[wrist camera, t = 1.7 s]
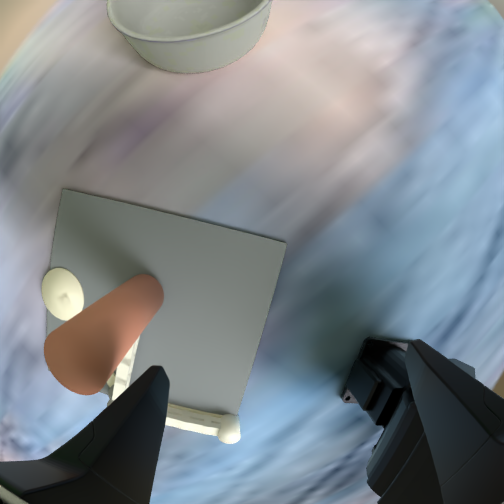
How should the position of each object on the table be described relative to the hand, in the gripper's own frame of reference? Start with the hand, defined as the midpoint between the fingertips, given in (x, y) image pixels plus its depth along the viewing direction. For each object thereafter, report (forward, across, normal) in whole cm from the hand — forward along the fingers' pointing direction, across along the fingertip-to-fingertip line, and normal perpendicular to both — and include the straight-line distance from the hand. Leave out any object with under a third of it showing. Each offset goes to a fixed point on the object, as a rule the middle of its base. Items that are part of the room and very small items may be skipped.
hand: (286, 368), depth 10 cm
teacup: (+18, +5, -17) cm, 26 cm away
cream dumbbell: (+7, +9, +13) cm, 18 cm away
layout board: (+10, +11, +5) cm, 15 cm away
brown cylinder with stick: (+8, +12, +6) cm, 16 cm away
